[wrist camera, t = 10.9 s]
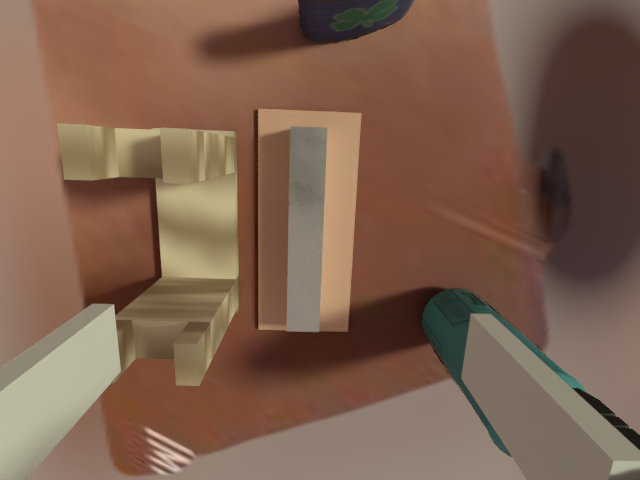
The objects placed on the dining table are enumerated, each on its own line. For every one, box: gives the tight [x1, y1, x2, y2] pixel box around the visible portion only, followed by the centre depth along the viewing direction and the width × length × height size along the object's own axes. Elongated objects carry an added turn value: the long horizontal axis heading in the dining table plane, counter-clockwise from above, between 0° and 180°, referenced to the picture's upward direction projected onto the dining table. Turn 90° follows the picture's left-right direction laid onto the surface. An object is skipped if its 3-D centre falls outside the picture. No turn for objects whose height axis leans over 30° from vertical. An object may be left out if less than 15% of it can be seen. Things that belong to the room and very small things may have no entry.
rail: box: [287, 126, 328, 332], centre depth 33 cm, size 18×3×3 cm, turn 178°
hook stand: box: [57, 124, 239, 386], centre depth 28 cm, size 17×7×13 cm, turn 178°
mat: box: [258, 109, 361, 332], centre depth 34 cm, size 21×9×1 cm, turn 178°
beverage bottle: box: [422, 289, 587, 457], centre depth 27 cm, size 6×7×20 cm
